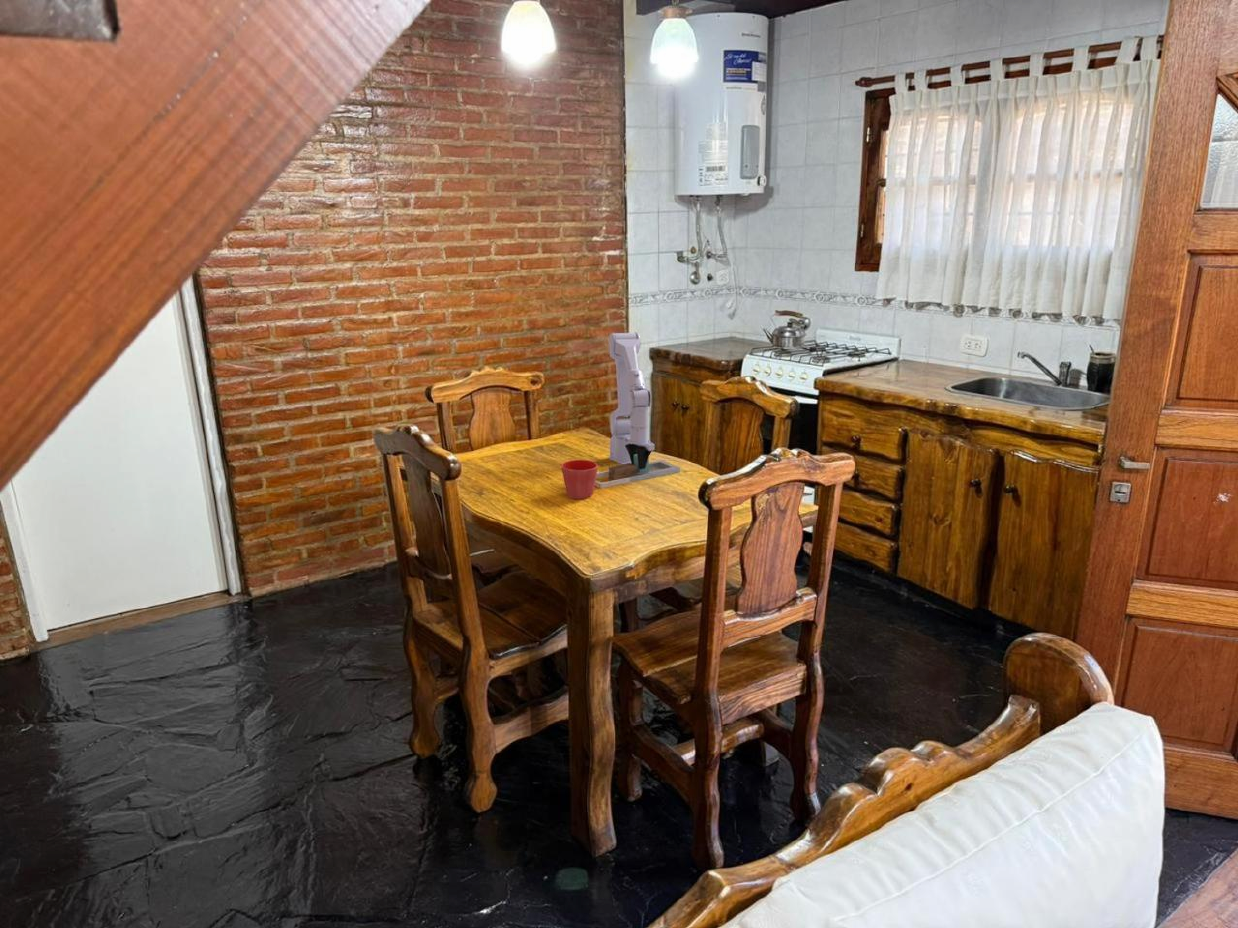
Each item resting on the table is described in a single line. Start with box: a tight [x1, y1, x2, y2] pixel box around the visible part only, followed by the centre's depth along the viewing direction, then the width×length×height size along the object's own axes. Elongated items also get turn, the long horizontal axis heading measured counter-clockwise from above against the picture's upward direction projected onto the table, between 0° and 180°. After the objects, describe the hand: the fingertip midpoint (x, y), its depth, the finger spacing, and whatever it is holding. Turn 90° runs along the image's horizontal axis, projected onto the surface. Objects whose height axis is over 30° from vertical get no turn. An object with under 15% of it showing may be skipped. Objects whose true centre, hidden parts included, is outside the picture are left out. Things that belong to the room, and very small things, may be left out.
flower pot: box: [561, 459, 599, 500], centre depth 252 cm, size 11×11×10 cm
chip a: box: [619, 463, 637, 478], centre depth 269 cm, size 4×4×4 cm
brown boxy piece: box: [608, 464, 626, 481], centre depth 267 cm, size 4×4×4 cm
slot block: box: [627, 459, 681, 483], centre depth 273 cm, size 10×20×2 cm, turn 123°
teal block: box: [634, 454, 650, 474], centre depth 271 cm, size 6×5×6 cm
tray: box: [594, 470, 631, 489], centre depth 265 cm, size 10×11×2 cm
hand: (638, 467), depth 271 cm, fingers closed on teal block, 3 cm apart
